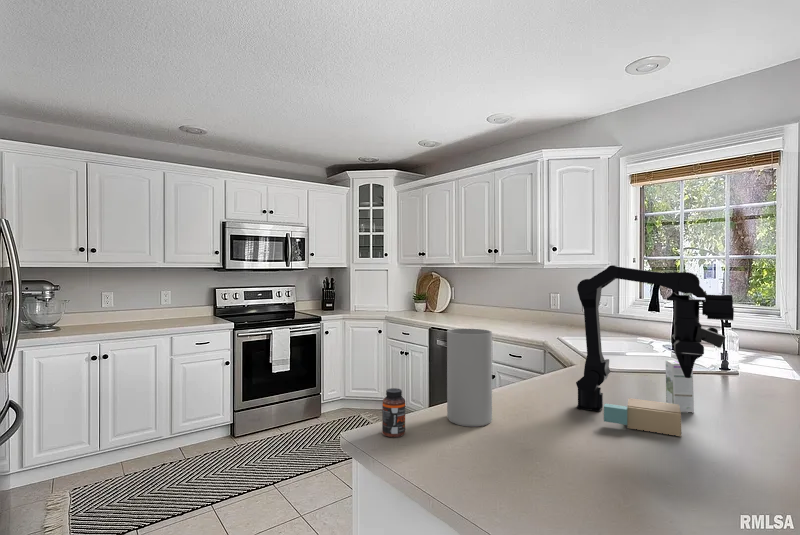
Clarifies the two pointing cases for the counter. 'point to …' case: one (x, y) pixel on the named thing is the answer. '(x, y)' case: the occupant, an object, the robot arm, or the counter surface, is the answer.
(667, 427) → the carton flap
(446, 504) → the counter surface
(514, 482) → the counter surface
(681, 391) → the syrup box
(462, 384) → the cylinder vase
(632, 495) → the counter surface
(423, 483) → the counter surface
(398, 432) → the supplement bottle
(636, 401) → the carton
